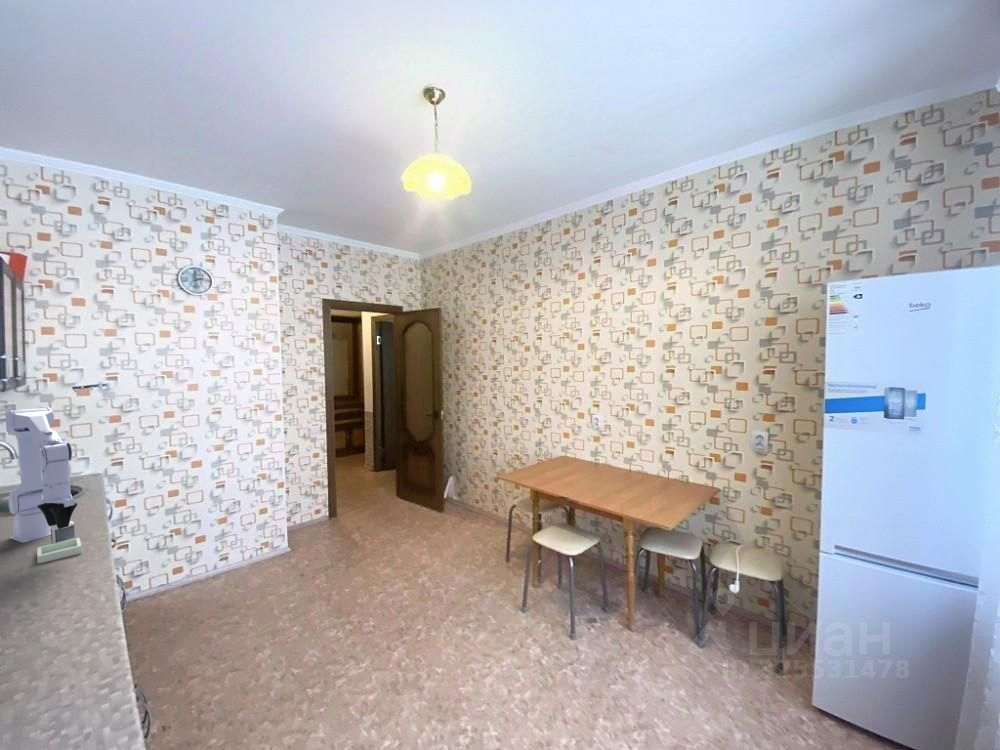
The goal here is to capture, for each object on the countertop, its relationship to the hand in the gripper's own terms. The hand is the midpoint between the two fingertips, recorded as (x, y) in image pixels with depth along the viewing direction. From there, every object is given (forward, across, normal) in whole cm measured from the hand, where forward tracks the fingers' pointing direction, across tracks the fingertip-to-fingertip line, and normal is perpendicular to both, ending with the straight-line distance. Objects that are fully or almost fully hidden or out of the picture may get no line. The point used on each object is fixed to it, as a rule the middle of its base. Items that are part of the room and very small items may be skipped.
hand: (58, 526), depth 124 cm
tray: (+9, 0, 0) cm, 9 cm away
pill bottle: (+9, -9, +4) cm, 14 cm away
